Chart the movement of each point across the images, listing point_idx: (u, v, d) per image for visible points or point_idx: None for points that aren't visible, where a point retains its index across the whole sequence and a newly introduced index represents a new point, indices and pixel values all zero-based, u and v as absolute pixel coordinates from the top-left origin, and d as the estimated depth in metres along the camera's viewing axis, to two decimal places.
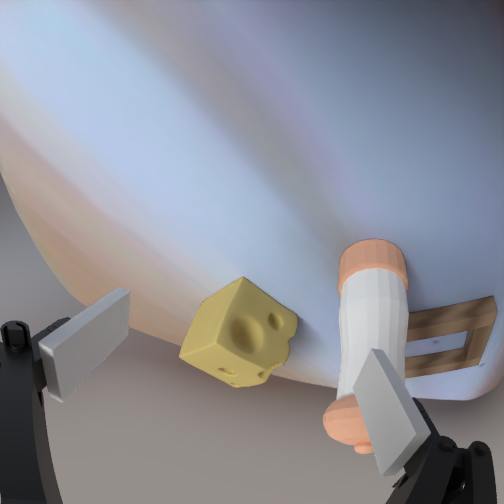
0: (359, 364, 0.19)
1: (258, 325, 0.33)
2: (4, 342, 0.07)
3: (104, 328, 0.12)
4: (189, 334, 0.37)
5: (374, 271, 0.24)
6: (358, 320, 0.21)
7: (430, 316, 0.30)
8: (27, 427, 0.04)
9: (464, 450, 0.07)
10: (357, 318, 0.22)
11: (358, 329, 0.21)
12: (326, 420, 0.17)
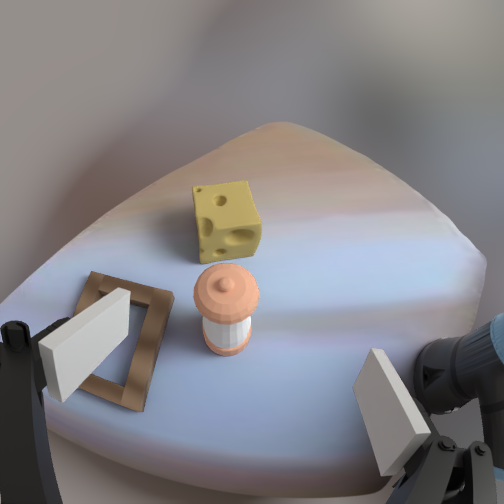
0: None
1: (232, 244, 0.48)
2: (4, 342, 0.07)
3: (104, 328, 0.12)
4: None
5: (247, 335, 0.41)
6: None
7: (155, 354, 0.40)
8: (27, 427, 0.04)
9: (464, 450, 0.07)
10: None
11: None
12: (249, 272, 0.32)
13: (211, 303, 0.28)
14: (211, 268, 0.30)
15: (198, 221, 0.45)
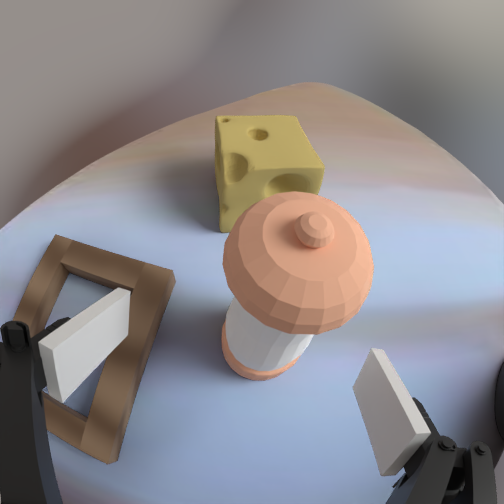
0: None
1: None
2: (4, 342, 0.07)
3: (104, 328, 0.12)
4: None
5: None
6: None
7: (139, 373, 0.23)
8: (27, 427, 0.04)
9: (464, 450, 0.07)
10: None
11: None
12: None
13: (276, 277, 0.11)
14: (270, 198, 0.13)
15: (224, 158, 0.27)
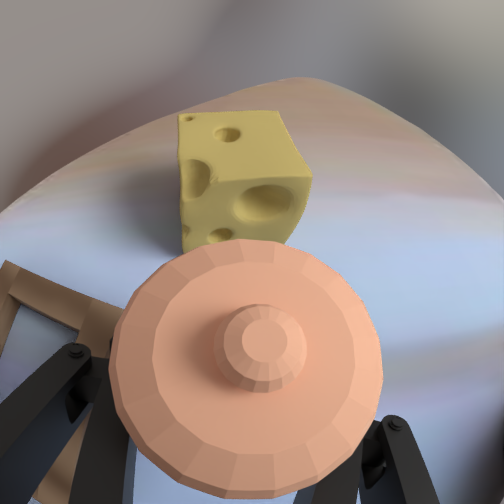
0: None
1: (247, 219, 0.24)
2: None
3: None
4: None
5: None
6: None
7: None
8: (121, 444, 0.05)
9: (376, 426, 0.08)
10: None
11: None
12: None
13: (177, 442, 0.04)
14: (187, 258, 0.07)
15: (181, 167, 0.21)
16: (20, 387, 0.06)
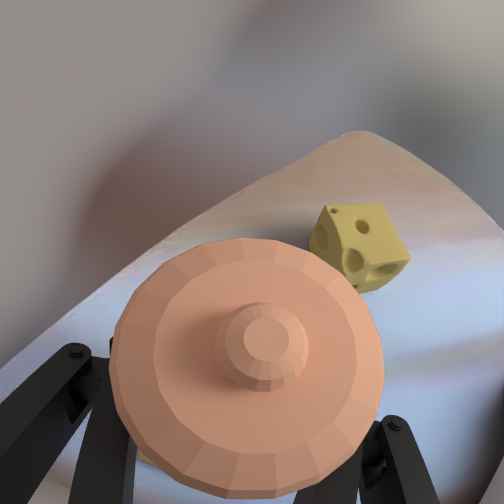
0: None
1: (369, 279, 0.38)
2: None
3: None
4: None
5: None
6: None
7: None
8: (121, 444, 0.05)
9: (376, 426, 0.08)
10: None
11: None
12: None
13: (178, 441, 0.04)
14: (188, 256, 0.07)
15: (343, 252, 0.34)
16: (20, 387, 0.06)
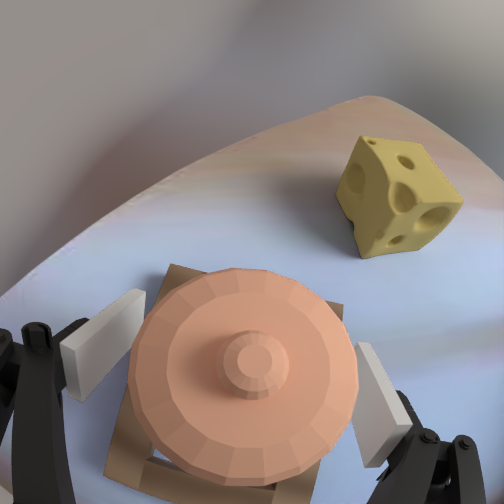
0: None
1: (417, 229, 0.28)
2: (25, 343, 0.07)
3: (122, 328, 0.12)
4: None
5: None
6: None
7: None
8: (45, 429, 0.05)
9: (448, 444, 0.07)
10: None
11: None
12: None
13: (187, 438, 0.05)
14: (192, 287, 0.08)
15: (390, 186, 0.25)
16: None
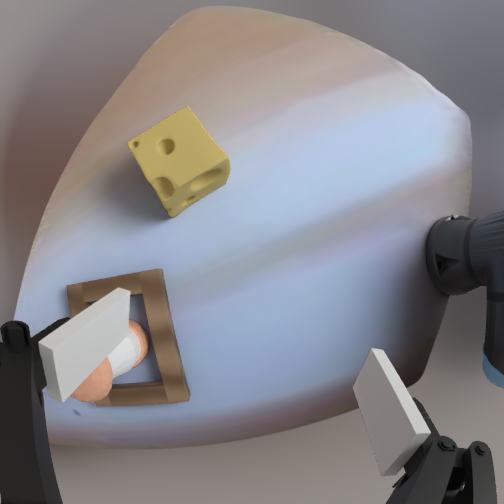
0: (114, 355, 0.28)
1: (200, 187, 0.38)
2: (4, 342, 0.07)
3: (104, 328, 0.12)
4: None
5: (140, 349, 0.36)
6: (125, 345, 0.32)
7: (174, 339, 0.39)
8: (27, 427, 0.04)
9: (464, 450, 0.07)
10: (125, 345, 0.32)
11: (122, 347, 0.31)
12: None
13: (74, 394, 0.22)
14: None
15: (152, 184, 0.33)
16: None
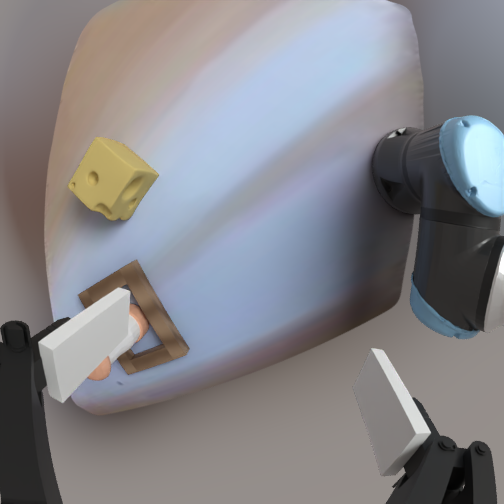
0: None
1: (134, 193, 0.43)
2: (4, 342, 0.07)
3: (104, 328, 0.12)
4: (109, 141, 0.40)
5: (137, 326, 0.49)
6: None
7: (162, 310, 0.51)
8: (27, 427, 0.04)
9: (464, 450, 0.07)
10: None
11: None
12: None
13: (90, 378, 0.36)
14: None
15: (95, 210, 0.40)
16: None
